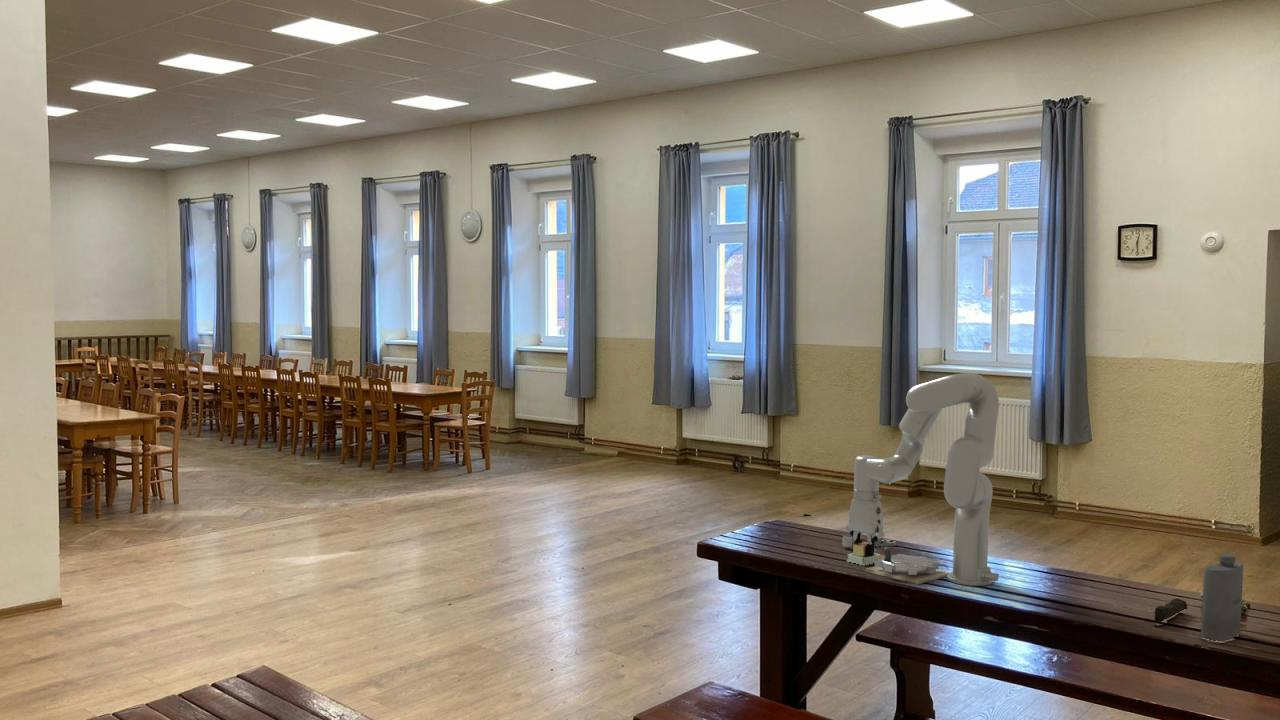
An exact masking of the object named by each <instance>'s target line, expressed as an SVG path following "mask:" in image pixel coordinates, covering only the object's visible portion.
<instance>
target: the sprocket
mask: <svg viewBox="0 0 1280 720" xmlns="http://www.w3.org/2000/svg"><path fill="white" fill-rule="evenodd" d="M939 564H940V563H939V561H938V560H931V559H929V558H928V557H927V556H922V555H919V556H916V555H909V554H904V553H896V554H892V546H884V552H883V554H881V555H880V556H878V559H875V563H874V566H876V567H882V568H884V569H885V571H888V572H899V573H908V574H909V575H917V574H921V573H930V574H932V573H936V570H939V568H940V567H939Z"/></svg>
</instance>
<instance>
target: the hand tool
mask: <svg viewBox="0 0 1280 720" xmlns="http://www.w3.org/2000/svg"><path fill="white" fill-rule="evenodd" d="M1184 609H1187V610H1188V604H1187V601H1186V600H1183V599H1181V598H1173V599H1171V600H1170V602H1167V603H1165V604H1164V606H1163V605H1158V606H1156V607H1155V609H1154V616H1153V617H1154V624H1155V623H1159V622H1161V621H1163V620H1164V619H1167V618H1169V617H1171V616H1173V615H1175V614H1176V613H1179V612H1180V611H1182V610H1184Z"/></svg>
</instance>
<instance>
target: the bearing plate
mask: <svg viewBox="0 0 1280 720" xmlns="http://www.w3.org/2000/svg"><path fill="white" fill-rule="evenodd" d="M865 572H866V573H868V574H869V573H870V574H873V575H878V576H880V577H881V576H882V577H886V578H891V579H894V580H898V581H902V582H903V581H904V582H906V581H907V583H910V582H911V583H910V584H915V585H920V584H923V583H927V582H932V581H935V580H939V579H944V578H947V574H949V573H950V571H949V572H948V571H943V570H941V569H940V570H939V569H936V573H932V574H930V573H921V574H917V575H909V574H908V573H899V572H888V571H885V569H884V568H882V567H876V566H875V565H874V566H870V567H866V568H865Z"/></svg>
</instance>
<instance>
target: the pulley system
mask: <svg viewBox="0 0 1280 720" xmlns="http://www.w3.org/2000/svg"><path fill="white" fill-rule="evenodd" d="M884 540H886V541H884ZM889 541H893V540H891V539H881V540H880V541H877V542H876V543H875V546H876V547H875V548H878V547H879V546H881V547H895V546H898V543H896V542H897V541H893V542H889ZM841 542H842V543H841V546H842V545H843V546H842V547H845V548H849V547H853V544H854V541H853V538H852V536H851V535H850V534H849V535H843V536H842V541H841ZM881 542H883V543H881ZM875 553H876V554H877V549H875Z"/></svg>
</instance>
